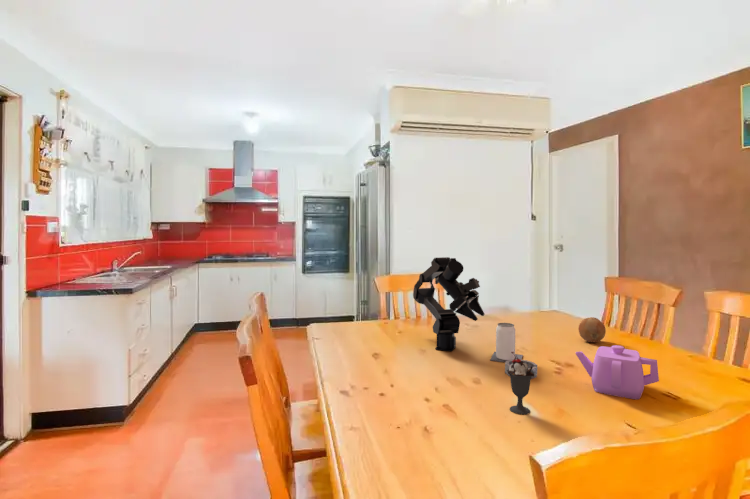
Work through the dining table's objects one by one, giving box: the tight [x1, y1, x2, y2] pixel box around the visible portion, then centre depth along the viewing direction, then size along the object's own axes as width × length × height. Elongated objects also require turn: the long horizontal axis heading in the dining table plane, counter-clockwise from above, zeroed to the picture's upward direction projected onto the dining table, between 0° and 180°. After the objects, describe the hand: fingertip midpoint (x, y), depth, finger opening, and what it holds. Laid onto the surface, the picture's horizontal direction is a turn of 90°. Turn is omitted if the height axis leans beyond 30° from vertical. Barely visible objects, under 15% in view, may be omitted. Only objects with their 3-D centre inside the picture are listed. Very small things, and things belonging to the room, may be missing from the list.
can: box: [495, 322, 516, 361], centre depth 146 cm, size 6×6×12 cm
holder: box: [504, 359, 538, 380], centre depth 132 cm, size 10×10×3 cm
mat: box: [489, 351, 524, 363], centre depth 147 cm, size 10×10×1 cm
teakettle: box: [575, 344, 660, 400], centre depth 119 cm, size 17×17×12 cm
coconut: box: [578, 317, 607, 343], centre depth 167 cm, size 10×10×10 cm
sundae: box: [507, 352, 535, 416], centre depth 105 cm, size 7×7×15 cm
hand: (480, 317), depth 151 cm, fingers open, 9 cm apart
